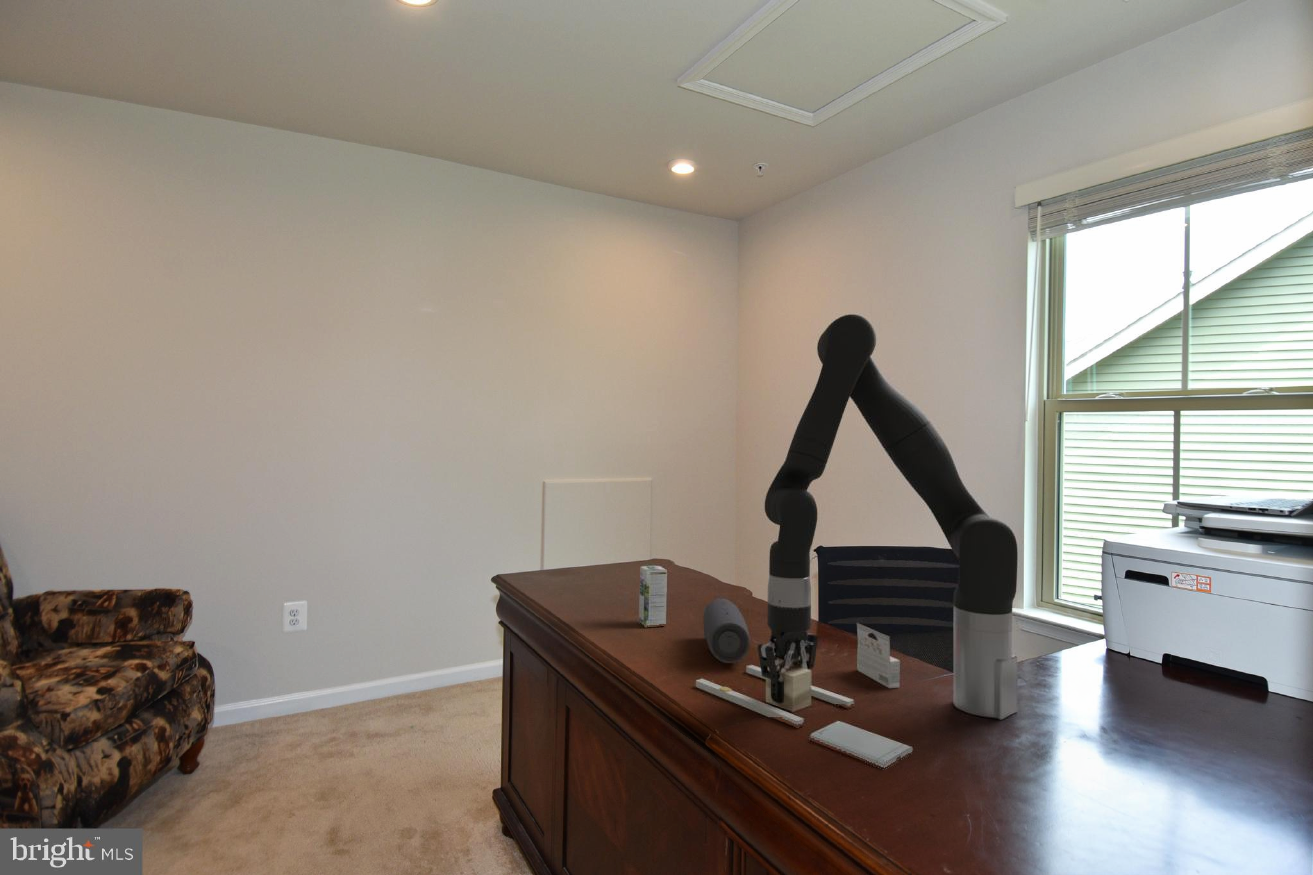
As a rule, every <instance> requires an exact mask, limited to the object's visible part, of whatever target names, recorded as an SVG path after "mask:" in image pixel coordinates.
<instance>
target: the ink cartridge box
mask: <svg viewBox="0 0 1313 875" xmlns="http://www.w3.org/2000/svg"><path fill="white" fill-rule="evenodd" d="M856 630H857V652H856V653H857V656H856V657H857V660H856V671H858V672H859V673H862V674H863V675H865V676H866V677H868V678H870V679H872V680H874V681H876V682H877V683H879V684H881V685H882V686H885V687H887V688H888V689H896V688H898V689H899V688H900V665H901V664H900V663H901V661H900V660H899V659H897V658H895V657H893V656H891V642H890V641H891V638H890V637H891V636H889V635H886V634H884V633H881V632H879V631H877V630H875V629H872V628H870V627H868V626H865V625H863V624H861V623H858V622H856ZM870 634H873V635H874V636H875V637H876V639H874V638H872V637H870V636H869V635H870Z"/></svg>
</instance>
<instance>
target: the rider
mask: <svg viewBox="0 0 1313 875" xmlns="http://www.w3.org/2000/svg"><path fill="white" fill-rule="evenodd" d="M779 669H780V667H779V666H778V667H777V670H776V671H777V673H779ZM768 671H769V667H768ZM783 681H784V702H783V703H777V702H774V701H773V700H772V698H771V680H770V679H769V678H766V679H765V702H766V703H767V704H769V705H770V704H771V705H774V706H777V708H778V707H779V708H780V709H784V710H785V711H789V712H792V713H795V712H797V711H799V710H803V709H805V708H807V707H810V706H812V696H811V685H812V669H805V668H801V667H800V666H797V665H792V664H791V663H790V665H789V668H788V669H786V672H785V676H784V680H783Z"/></svg>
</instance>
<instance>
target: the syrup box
mask: <svg viewBox="0 0 1313 875" xmlns="http://www.w3.org/2000/svg"><path fill="white" fill-rule="evenodd" d="M639 568H640V569H639V596H638V598H639V600H638V602H639V603H638V604H639V605H638V621H639V620H640V621H641V622H642V624H644V626H647V625H648V626H649V625H659V624H666V625H667V590H668V589H667V583H668V582H667V581H668V580H667V579H668V574H667V573H668V570H667V569H665V568H664V567H662V566H661V565H644V566H640V567H639Z"/></svg>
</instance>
